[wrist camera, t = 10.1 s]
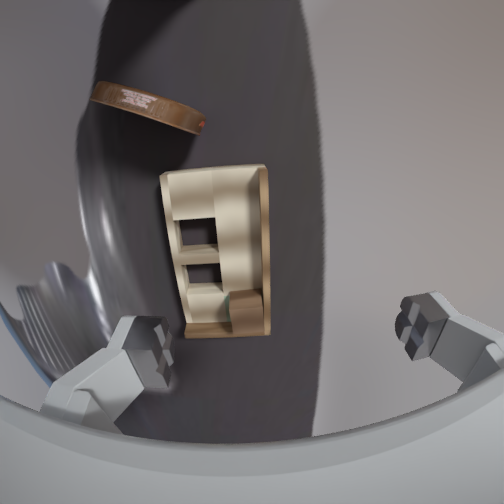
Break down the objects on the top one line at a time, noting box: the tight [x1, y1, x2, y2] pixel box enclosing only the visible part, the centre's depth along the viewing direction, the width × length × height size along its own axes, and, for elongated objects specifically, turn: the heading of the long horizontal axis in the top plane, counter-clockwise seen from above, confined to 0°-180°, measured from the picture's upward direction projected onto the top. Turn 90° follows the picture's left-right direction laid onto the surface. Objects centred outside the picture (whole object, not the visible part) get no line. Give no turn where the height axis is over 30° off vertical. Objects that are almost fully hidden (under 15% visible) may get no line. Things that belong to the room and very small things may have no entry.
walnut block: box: [229, 288, 265, 334], centre depth 38 cm, size 4×4×4 cm
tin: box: [89, 81, 206, 136], centre depth 26 cm, size 15×3×8 cm, turn 65°
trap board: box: [160, 164, 270, 338], centre depth 37 cm, size 24×13×6 cm, turn 3°
